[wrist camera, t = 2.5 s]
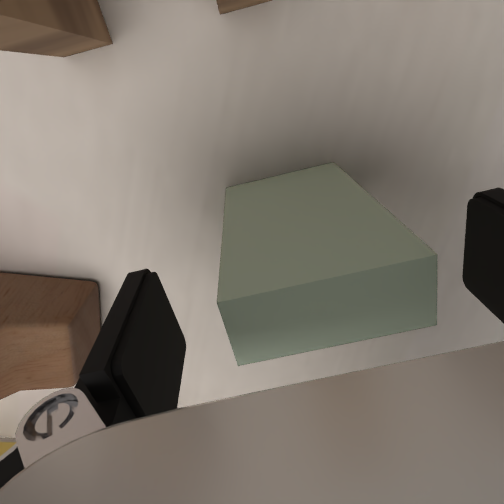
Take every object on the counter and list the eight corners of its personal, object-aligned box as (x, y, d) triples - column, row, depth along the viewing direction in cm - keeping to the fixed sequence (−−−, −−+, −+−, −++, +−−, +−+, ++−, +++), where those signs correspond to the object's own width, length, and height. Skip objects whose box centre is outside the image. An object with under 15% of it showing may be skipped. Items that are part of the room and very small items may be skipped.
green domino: (333, 162, 19) (437, 254, 9) (338, 203, 20) (436, 324, 10) (226, 187, 20) (216, 302, 10) (236, 226, 21) (238, 366, 11)
